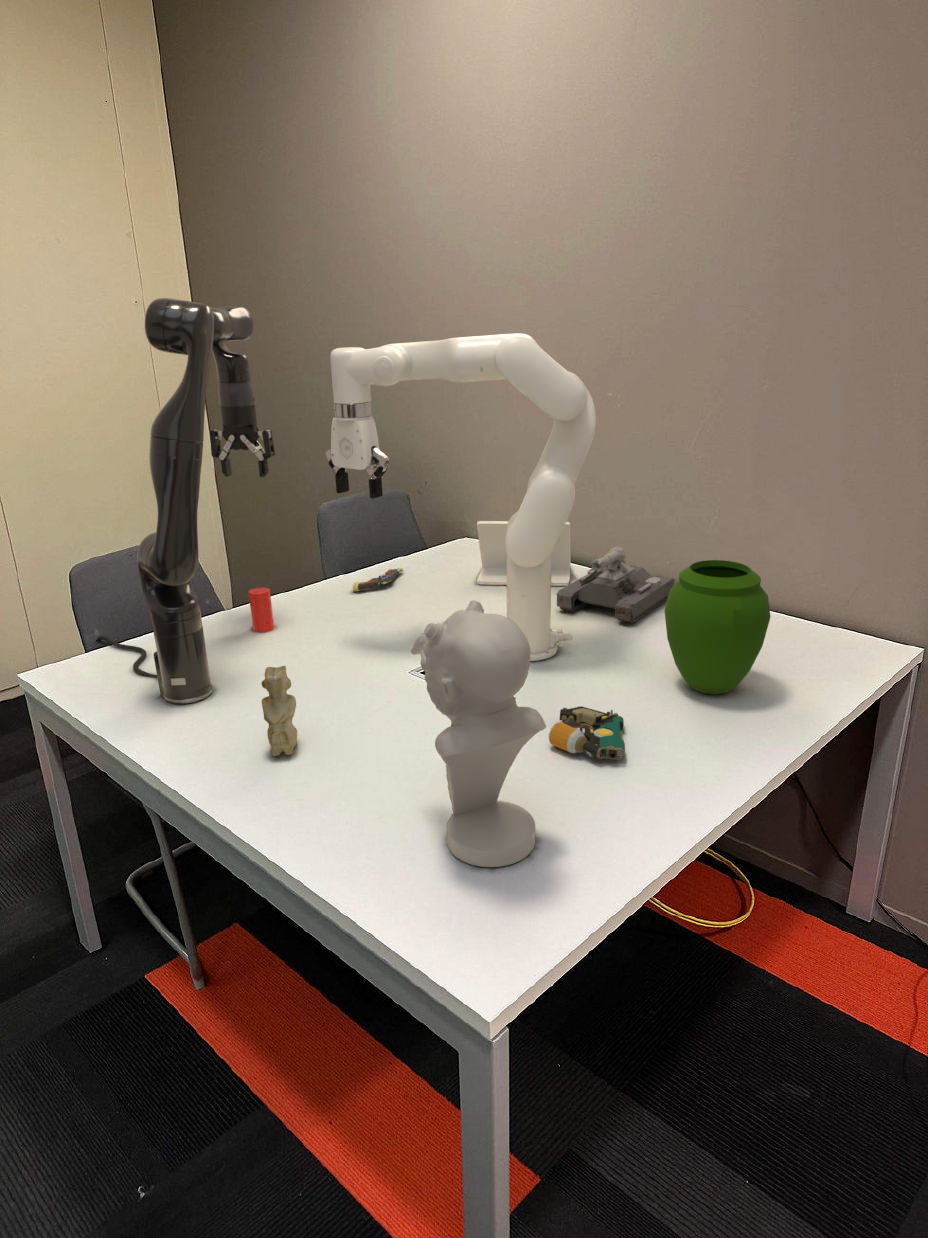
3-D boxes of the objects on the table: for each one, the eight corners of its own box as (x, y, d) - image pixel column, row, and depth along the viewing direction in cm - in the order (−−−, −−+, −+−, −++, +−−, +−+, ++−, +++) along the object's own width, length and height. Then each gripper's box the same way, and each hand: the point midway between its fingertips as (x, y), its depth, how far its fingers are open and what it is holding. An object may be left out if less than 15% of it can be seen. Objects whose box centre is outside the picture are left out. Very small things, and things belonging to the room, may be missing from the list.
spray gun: (565, 715, 160) (645, 732, 154) (534, 751, 146) (620, 771, 140) (567, 694, 159) (647, 710, 153) (536, 729, 144) (623, 748, 138)
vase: (773, 678, 171) (786, 561, 163) (746, 717, 156) (759, 591, 147) (679, 659, 181) (686, 549, 173) (645, 694, 166) (651, 575, 157)
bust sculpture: (481, 772, 140) (476, 569, 128) (565, 848, 120) (569, 617, 108) (392, 800, 134) (378, 588, 121) (465, 886, 114) (457, 642, 101)
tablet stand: (569, 585, 229) (570, 524, 223) (476, 584, 232) (475, 523, 226) (570, 566, 246) (571, 508, 240) (484, 564, 249) (483, 507, 243)
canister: (276, 624, 208) (272, 587, 205) (270, 632, 203) (265, 594, 200) (257, 624, 209) (252, 587, 205) (250, 632, 204) (245, 593, 201)
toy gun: (349, 584, 228) (385, 580, 226) (370, 567, 246) (403, 564, 244) (351, 593, 229) (387, 590, 227) (371, 576, 246) (404, 573, 244)
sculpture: (303, 738, 153) (295, 661, 148) (297, 758, 146) (289, 679, 141) (270, 740, 153) (261, 663, 148) (263, 760, 146) (253, 680, 141)
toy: (603, 584, 229) (605, 530, 224) (673, 597, 218) (677, 540, 213) (555, 612, 210) (556, 553, 205) (630, 627, 199) (633, 566, 194)
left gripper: (199, 405, 185) (209, 479, 191) (260, 404, 182) (268, 480, 188) (215, 401, 192) (224, 472, 198) (274, 400, 189) (281, 473, 195)
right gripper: (310, 411, 175) (317, 493, 181) (371, 416, 165) (377, 503, 171) (336, 407, 180) (343, 487, 186) (397, 411, 170) (402, 495, 176)
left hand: (245, 476), depth 193 cm, fingers open, 8 cm apart
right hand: (359, 494), depth 179 cm, fingers open, 9 cm apart
